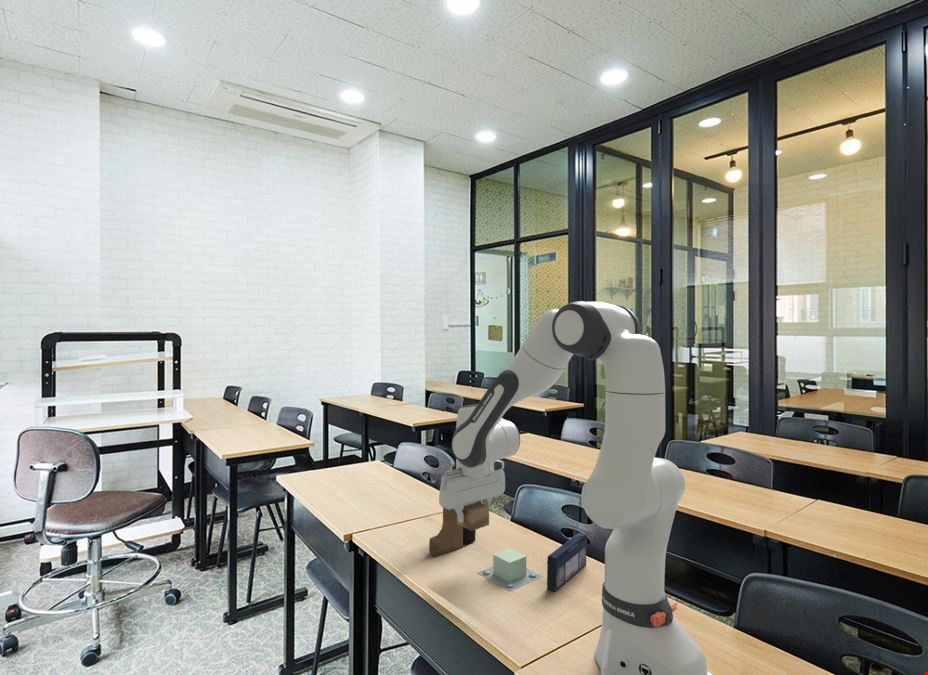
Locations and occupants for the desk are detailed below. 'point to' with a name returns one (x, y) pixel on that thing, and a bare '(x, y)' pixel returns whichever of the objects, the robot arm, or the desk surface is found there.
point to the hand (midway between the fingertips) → (473, 518)
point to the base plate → (512, 585)
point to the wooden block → (447, 535)
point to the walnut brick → (475, 516)
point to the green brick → (509, 565)
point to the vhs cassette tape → (566, 562)
